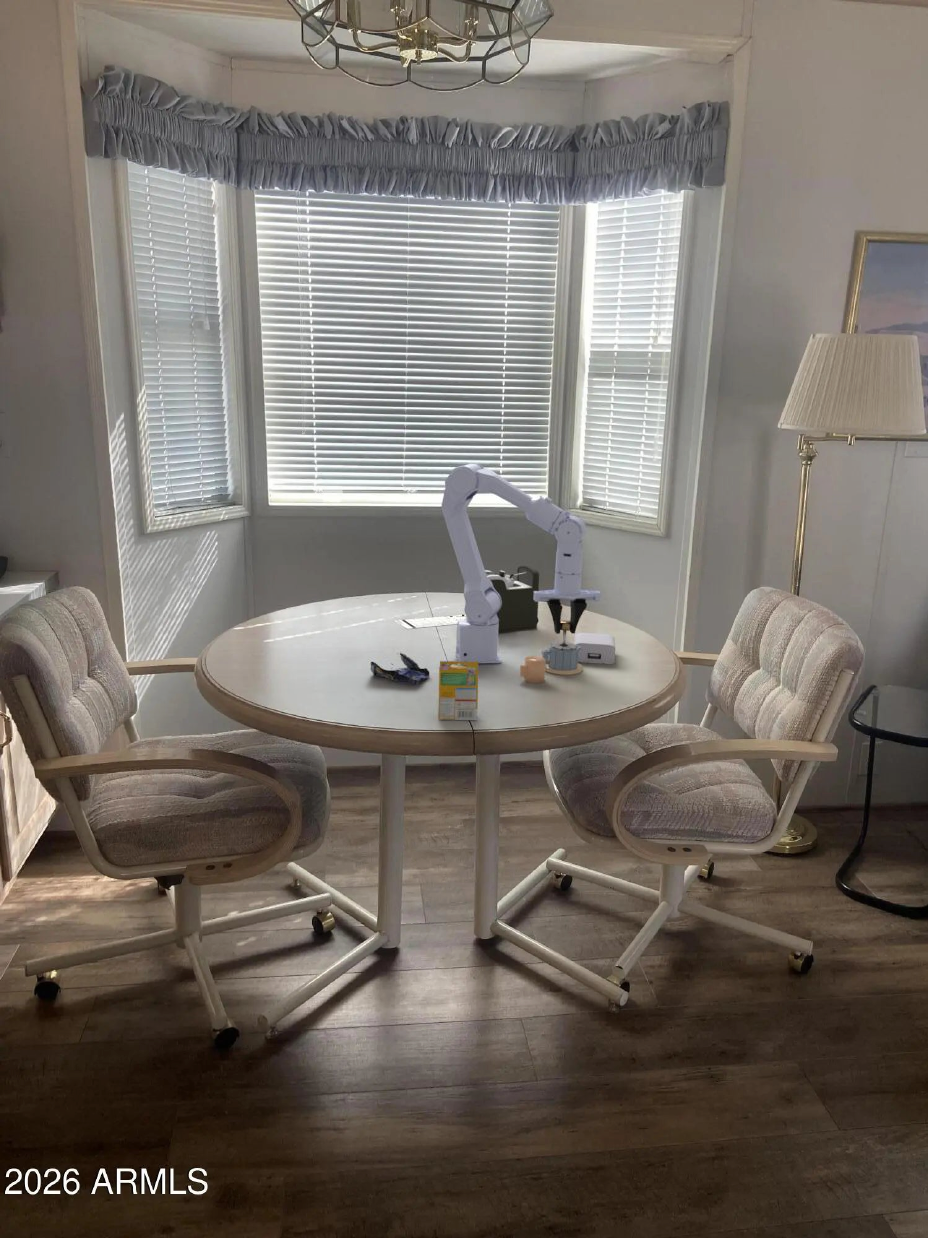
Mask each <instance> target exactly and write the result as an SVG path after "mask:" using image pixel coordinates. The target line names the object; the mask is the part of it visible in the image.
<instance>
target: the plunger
mask: <svg viewBox="0 0 928 1238" xmlns="http://www.w3.org/2000/svg"><path fill="white" fill-rule="evenodd" d="M571 626H572V622H571V621H570V620H565V619H564V620H563V619H561V620H560V631H562V641H561V642H562V646H563V647H565V645H566V641H567V631H569V632H570V630H571Z"/></svg>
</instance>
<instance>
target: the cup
mask: <svg viewBox="0 0 928 1238" xmlns="http://www.w3.org/2000/svg"><path fill="white" fill-rule="evenodd" d="M545 666H546V659H545V658H543V657H542V656H537V655H536V656H535V655H530V656H527V657H525V658H524V664H521V665H519V667H520V669H519V671H520V672H519V677H521V678H523V680H524V681H525V682H527V681H528V682H527V683H531V684H540V683H541V684H542V683H543V682H545V680H546V671H545Z"/></svg>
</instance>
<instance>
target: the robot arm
mask: <svg viewBox="0 0 928 1238" xmlns="http://www.w3.org/2000/svg"><path fill="white" fill-rule="evenodd" d="M444 485H445V487H444V492H443V497H442V502H441V506H440V507H441V511H442V515H443V518H444V523H445V524H446V528H447V531H448V535H449V538H450V540H451V545H452V547H453V550H454V553H455V557H456V559H457V563H458V566H459V569H460V572H461V576H462V578H463V583H464V588H463V589H464V590H463V597H464V603H465V605H464V615H466V616H467V620H466V621H461V622H458V623H457V624H456V639H455V640H456V644H455V645H456V646H455V654H456V655H455V656H456V658H457V660H458V661H462V662H478V664H501V663H502V659H501V657H500V656H499V654H498V651H499V649H498V648H499V647H498V646H499V633H498V628H499V619H498V617H497V612H498V611H499V610H500V608H501V605H502V600H501V597H500V595H499V593H498V592H497V591H496V590H495V589H494V587H493V584H492V582H491V581H490V579H489V578H488V577H487V576H486V572H485V567H484V563H483V560H482V557H481V554H480V550H479V547H478V544H477V540H476V538H475V534H474V531H473V527H472V524H471V522H470V518H469V514H468V511H467V509H468V507H469V505H470V503H471V502H472V500H473V499H474V497H475V496H476V495H477V494H478V495H481V494H494V495H495V496H497V497H499V498H501V499H503V500H504V501H506V502H508V503H510V504H512V505H513V506H515V507H517V508H519V509H520V510H522V511H524V513H525V517H526V520H528V521H529V522H531V523H532V524H534V525H536V526H537V527H539V528H540V529H542V530H544V531H546V533H549V534H550V535H554V536H555V537H554V538H555V539H556V541H557V545H556V547H557V550H556V552H555V553H556V555H555V566H554V567H555V570H554V571H555V572H554V587H553V589H547V590H545V589H544V590H539V591H534V596H533V600H534V601H535V602H538V603H539V602H546V603H547V606H548V608H549V611H550V614H551V617H552V618H551V619H552V623H553V627H554V628H553V629H554V633H556V634H558V635H560V634H561V630H560V621H561V620H562V618H561V617H562V613H563V612H562V611H563V605H562V604H561V603H562V602H563V601H564V602H570V617H569V621H571V622H572V626H571V630H569V632H570V634H571V635H572V634H575V635H576V631H577V627H578V624H579V621H580V619H581V617H582V615H583V613H584V612H585V610H586V609H587V605H588V603H587V602H588V601H589V602H590V601H594V602H601V592H600V591H599V590H590V589H588V590H586V589H581V587H582V573H583V559H584V558H583V556H584V551H583V550H584V549H583V548H584V540H583V538H584V537H585V536H586V532H587V525H586V523H585V520H583V519H582V518H581V517H580V515H577V514H571V511H569V509H566V510H564V509H562V508H561V507H559V506H557V505H556V504H554V503H553V502H552V501H553V499H552V498H549V497H548V496H547V497H543V496H538V497H537V496H536V497H535V498H533V497H531V496H530V495H529V494H527V493H526V492H524V491H523V490H522V489H521V488H518V487H517V486H515V485H514V484H512V483H511V482H510V481H508V480H507V479H505V478H503V477H502V476H501V475H499V474H498V473H496V472H494V471H493V470H492V469H489V468H487V467H485V468H484V466H483V465H481V464H480V463H477V462H470V463H468V464H467V463H466V464H465V465H459V466H456V467H455V468H453V469H452V470H451V471H450V473H449V474H448V476H447V477H446V479H445V481H444ZM561 601H562V602H561ZM586 601H587V602H586Z"/></svg>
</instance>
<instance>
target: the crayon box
mask: <svg viewBox="0 0 928 1238" xmlns="http://www.w3.org/2000/svg"><path fill="white" fill-rule="evenodd" d="M458 664H459V665H462V666H457V665H458ZM478 698H479V663H478V662H462V661H459V660H458V661H456V660H455V661H451V660H450V661H449V660H447V661H445V660H444V661H443V660H440V661H439V669H438V714H437V715H438V717H437V718H438V721H449V720H450V721H475V722H476V721H477V720H478V703H479V702H478V700H479V699H478Z"/></svg>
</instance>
